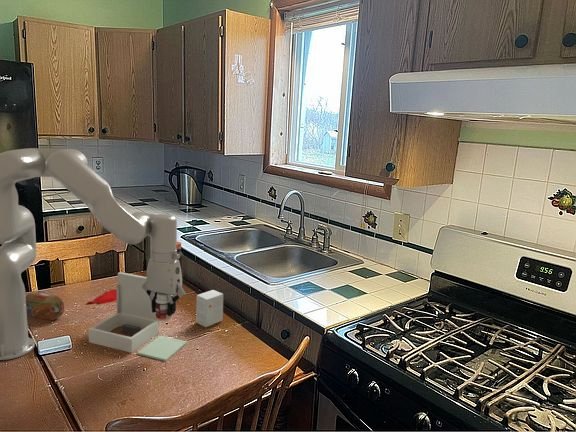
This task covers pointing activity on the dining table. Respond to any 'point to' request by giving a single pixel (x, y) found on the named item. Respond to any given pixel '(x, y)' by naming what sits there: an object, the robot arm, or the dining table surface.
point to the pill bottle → (162, 307)
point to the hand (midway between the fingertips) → (163, 312)
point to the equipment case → (128, 317)
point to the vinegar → (180, 259)
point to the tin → (44, 306)
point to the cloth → (106, 297)
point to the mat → (162, 348)
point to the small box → (209, 308)
